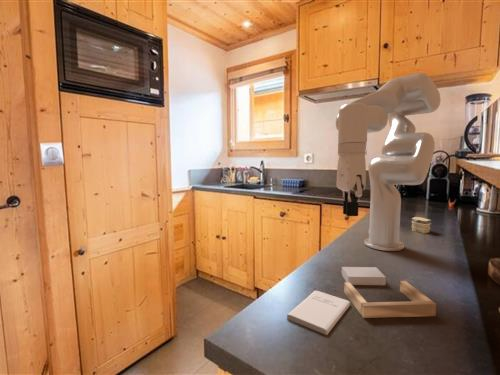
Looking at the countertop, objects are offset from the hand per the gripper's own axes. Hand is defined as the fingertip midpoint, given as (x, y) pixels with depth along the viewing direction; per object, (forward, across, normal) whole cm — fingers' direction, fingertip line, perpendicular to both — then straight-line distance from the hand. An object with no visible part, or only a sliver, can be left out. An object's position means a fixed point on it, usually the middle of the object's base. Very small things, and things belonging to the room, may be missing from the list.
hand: (350, 214), depth 77 cm
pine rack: (+15, +20, 0) cm, 25 cm away
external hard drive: (+16, +23, -15) cm, 32 cm away
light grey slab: (+16, +9, 0) cm, 18 cm away
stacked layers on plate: (+16, -35, +44) cm, 58 cm away
